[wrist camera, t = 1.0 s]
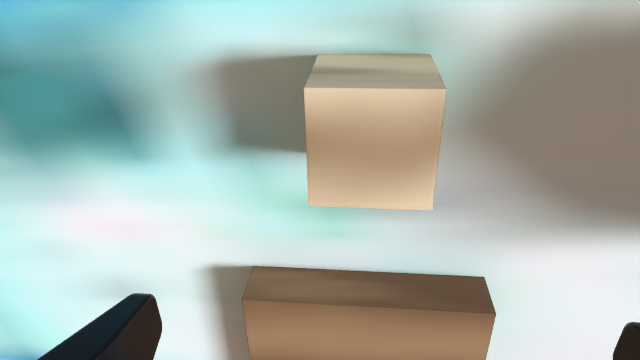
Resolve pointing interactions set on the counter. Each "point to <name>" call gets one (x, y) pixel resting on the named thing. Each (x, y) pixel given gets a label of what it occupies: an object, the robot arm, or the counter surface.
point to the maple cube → (373, 131)
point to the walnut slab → (365, 315)
